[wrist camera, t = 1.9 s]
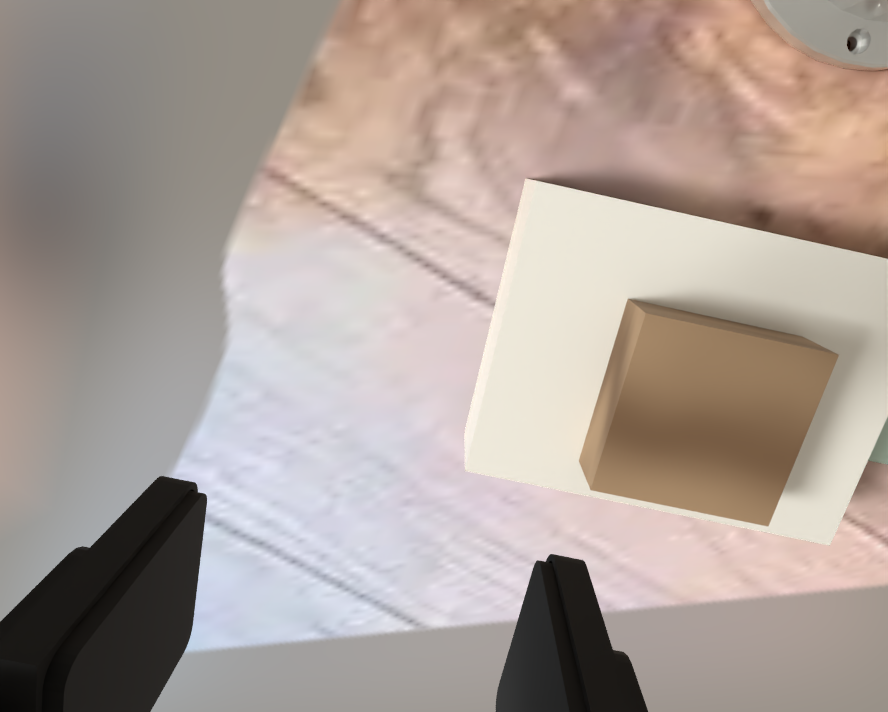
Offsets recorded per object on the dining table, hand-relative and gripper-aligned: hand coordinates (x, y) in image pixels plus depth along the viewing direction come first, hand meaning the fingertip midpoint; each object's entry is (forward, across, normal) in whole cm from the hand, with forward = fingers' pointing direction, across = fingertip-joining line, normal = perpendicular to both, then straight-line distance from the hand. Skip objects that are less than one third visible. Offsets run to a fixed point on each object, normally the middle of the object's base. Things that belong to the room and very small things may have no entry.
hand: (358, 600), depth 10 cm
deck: (+19, -11, -1) cm, 22 cm away
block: (+15, -11, 0) cm, 19 cm away
